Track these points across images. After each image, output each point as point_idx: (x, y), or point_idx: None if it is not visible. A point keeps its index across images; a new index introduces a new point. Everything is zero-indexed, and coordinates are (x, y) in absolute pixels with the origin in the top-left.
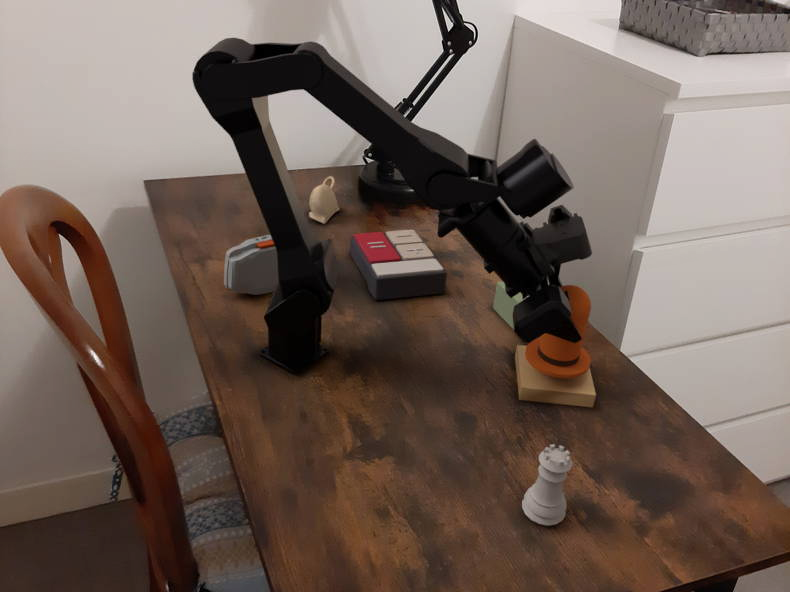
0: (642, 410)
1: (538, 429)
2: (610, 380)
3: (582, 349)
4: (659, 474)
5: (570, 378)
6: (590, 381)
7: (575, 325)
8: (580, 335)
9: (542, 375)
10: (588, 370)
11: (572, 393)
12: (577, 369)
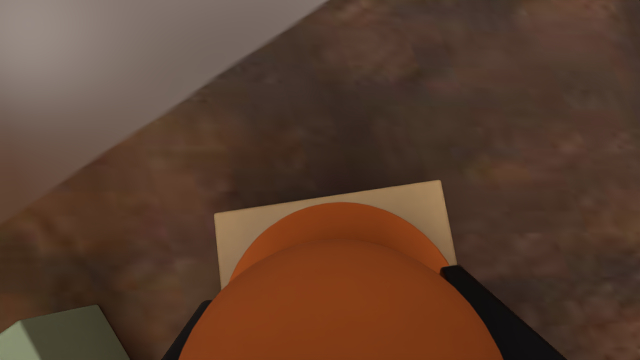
0: (393, 59)
1: (587, 340)
2: (284, 139)
3: (275, 231)
4: (634, 28)
5: None
6: (376, 197)
7: None
8: (471, 278)
9: None
10: (316, 204)
11: (453, 252)
12: (414, 249)
